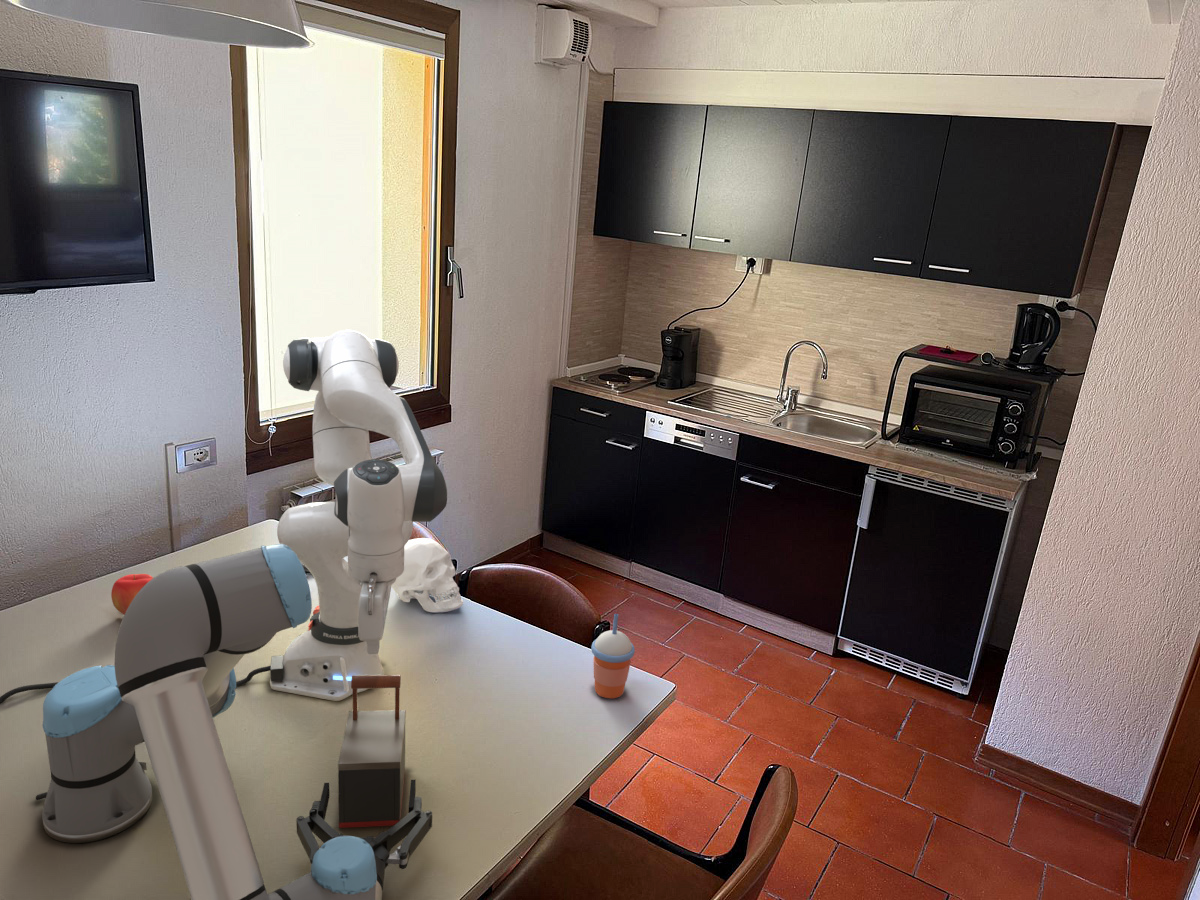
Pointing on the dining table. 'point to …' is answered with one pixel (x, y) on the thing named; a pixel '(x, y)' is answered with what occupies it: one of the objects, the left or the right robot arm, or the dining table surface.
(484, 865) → the dining table surface
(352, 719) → the lid
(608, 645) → the cup with straw
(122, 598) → the apple
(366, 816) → the chest
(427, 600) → the skull
